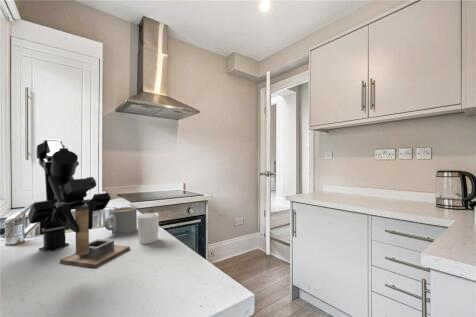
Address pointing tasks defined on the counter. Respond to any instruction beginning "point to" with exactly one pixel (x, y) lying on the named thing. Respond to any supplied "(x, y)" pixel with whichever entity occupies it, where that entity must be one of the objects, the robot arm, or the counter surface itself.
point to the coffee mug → (122, 221)
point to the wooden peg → (82, 229)
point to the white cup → (148, 227)
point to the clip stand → (96, 254)
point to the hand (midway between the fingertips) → (84, 230)
